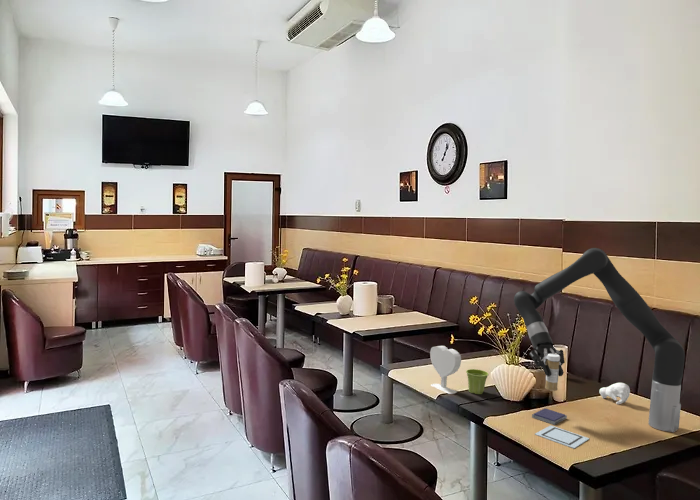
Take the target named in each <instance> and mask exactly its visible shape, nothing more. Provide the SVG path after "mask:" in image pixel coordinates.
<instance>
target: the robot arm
mask: <svg viewBox="0 0 700 500" xmlns="http://www.w3.org/2000/svg"><path fill="white" fill-rule="evenodd" d="M592 274H593V275H594V276H595V277H596V279H598V280H599V282H600V283H601V284H602V285H603V287H604V288H605V290H606V292H607V294H608V295H609V297H610V299H611V301H612V302H613V304H614V305H615V307H616V308H617V309H618V310H619V312H620V313H621V314H622V316H623V317H624V318H625V319H626V320H627V321H629V323H630V324H631V325H632V326H634V327H635V328H636V329H637V330H638V331H639V332H640V333H641V334H642V335H643V336H644V337H645V338H646V340H647V342H648V343H649V345H651V347H652V349H653V351H654V361H653V362H654V363H653V364H654V365H653V371H652V379H651V380H652V381H651V391H650V401H649V402H650V403H649V412H648V413H649V414H648V425H649V426H650V427H651V428H654V429H656V430H660V431H664V432H671V433H675V432H676V431H679V429H680V419H681V409H682V408H681V407H682V404H681V402H680V398H681V389H682V379H683V376H684V366H685V357H686V355H685V350H684V347H683V345H682V344H681V343H680V341H679V340H677V339H676V338H675V337H674V336H673V335H672V334H671V333H670V332H669V331H668V330H667V329H666V328H665V327H664V326H663V325H662V324H661V322H660V321H659V319H658V318H657V316H656V315H655V313H654V312H653V310H652V309H651V307H650V306H649V304H648V303H647V302H646V301H645V300H644V298H643V297H642V296H641V295H640V294H639V292H638V291H637V290H636V289H635V288H634V287H633V285H632V284H630V283H629V282H628V280H626V279H625V278H624V277H623V276H622V275H621V274H620V272H619V271H618V269H617V268H616V267H615V265H614V264H613V262H612V261H611V259H610V258H609V256H608V255H607V253H606V252H605V251H604V250H603V249H602V248H601V249H600V248H598V247H591V248H588V249H587V250H586V251H584V252H583V253H582V255H580V256H579V258H578V259H577V260H575V261H574V262H572V263H571V264H570V265H568V266H567V267H565V268H564V269H562V270H560V271H558V272H556V273H554V274H552V275H550V276H548V277H546V278H545V279H544V280H541V281H540V282H539V283H537V284H536V285H535V286H534V291H533V293H529V292H528V291H525V290H520V291H517V292H516V293H515V295H514V296H513V297H514V298H513V302H514V306H515V308H516V309H517V311H518V313H519V314H520V316H521V317H522V320H523V322H524V325H525V327H526V331H527V334H528V337H529V340H530V342H531V344H532V346H533V349H532V350H531V351H530V352H529V356H530V358H531V360H533V362H534V363H535V365H536V366H537V367H538V368H539V366H540V367H542V368H543V370H544V372H545V374H544V375H545V376H546V375H547V377H550V376H551V371H550V369H549V366H548V365H547V355H548V354H558V355H560V362H559V374H558V377H562V376H563V375H564V369H563V367H562V366H563V365H564V364H565V356H564V355H565V354H564V350H563V349H560V350H558V349H557V348H556V347H554V342H553V339H552V337H551V335H550V333H549V329H548V328H547V326H546V324H545V322H544V320H543V317H542V315H541V313H540V312H539V311H538V310H537V309H539V307H540V306H542V305H543V304H544V302H546V300H548V299H549V298H551V297H553V296H554V295H556V294H558V293H559V292H561V291H562V290H564V289H566V288H567V287H569V286H570V285H572V284H573V283H575V282H577V281H579V280H581V279H583V278H585V277H588V276H590V275H592Z"/></svg>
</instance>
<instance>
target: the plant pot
mask: <svg viewBox="0 0 700 500" xmlns="http://www.w3.org/2000/svg"><path fill="white" fill-rule="evenodd" d="M465 373H466V375H467V382H468V384H467V385H468V392H469V393H470V394H475V395H483V393H484V390H485V387H486V386H485V385H486V381H487V379H488V376H489V372H488V371H486V370H482V369H475V368H469V369H466V370H465Z"/></svg>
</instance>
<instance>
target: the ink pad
mask: <svg viewBox="0 0 700 500" xmlns="http://www.w3.org/2000/svg"><path fill="white" fill-rule="evenodd" d="M531 418H532V419H536V420H538V421H542V422H544V423H547V424H550V425H552V426H556V425H558V424H560V423H561V422H563V421H565V420H567V419H568V415H567V414H565V413H561V412H557V411H554V410H553V409H549V408H545V407H544V408H543V409H540V410H538V411H536V412H534V413H533V414H531Z"/></svg>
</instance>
